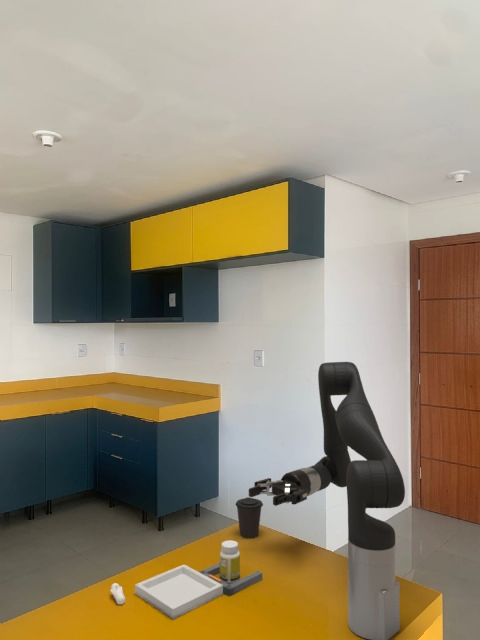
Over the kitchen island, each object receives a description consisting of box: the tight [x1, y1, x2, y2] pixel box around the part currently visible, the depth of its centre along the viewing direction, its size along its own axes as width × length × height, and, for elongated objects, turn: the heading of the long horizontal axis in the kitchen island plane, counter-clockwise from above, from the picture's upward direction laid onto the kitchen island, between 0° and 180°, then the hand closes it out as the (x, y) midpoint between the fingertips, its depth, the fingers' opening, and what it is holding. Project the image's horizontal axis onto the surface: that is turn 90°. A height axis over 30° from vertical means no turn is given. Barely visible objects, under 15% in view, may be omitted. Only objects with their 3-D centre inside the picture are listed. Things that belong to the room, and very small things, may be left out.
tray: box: [134, 564, 224, 620], centre depth 114 cm, size 14×14×2 cm
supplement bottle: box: [219, 539, 241, 584], centre depth 121 cm, size 5×5×8 cm
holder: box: [198, 562, 263, 597], centre depth 121 cm, size 11×11×2 cm
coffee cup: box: [235, 496, 264, 539], centre depth 147 cm, size 8×8×10 cm
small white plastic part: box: [110, 582, 126, 606], centre depth 111 cm, size 4×6×3 cm, turn 6°
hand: (261, 497), depth 129 cm, fingers open, 8 cm apart
